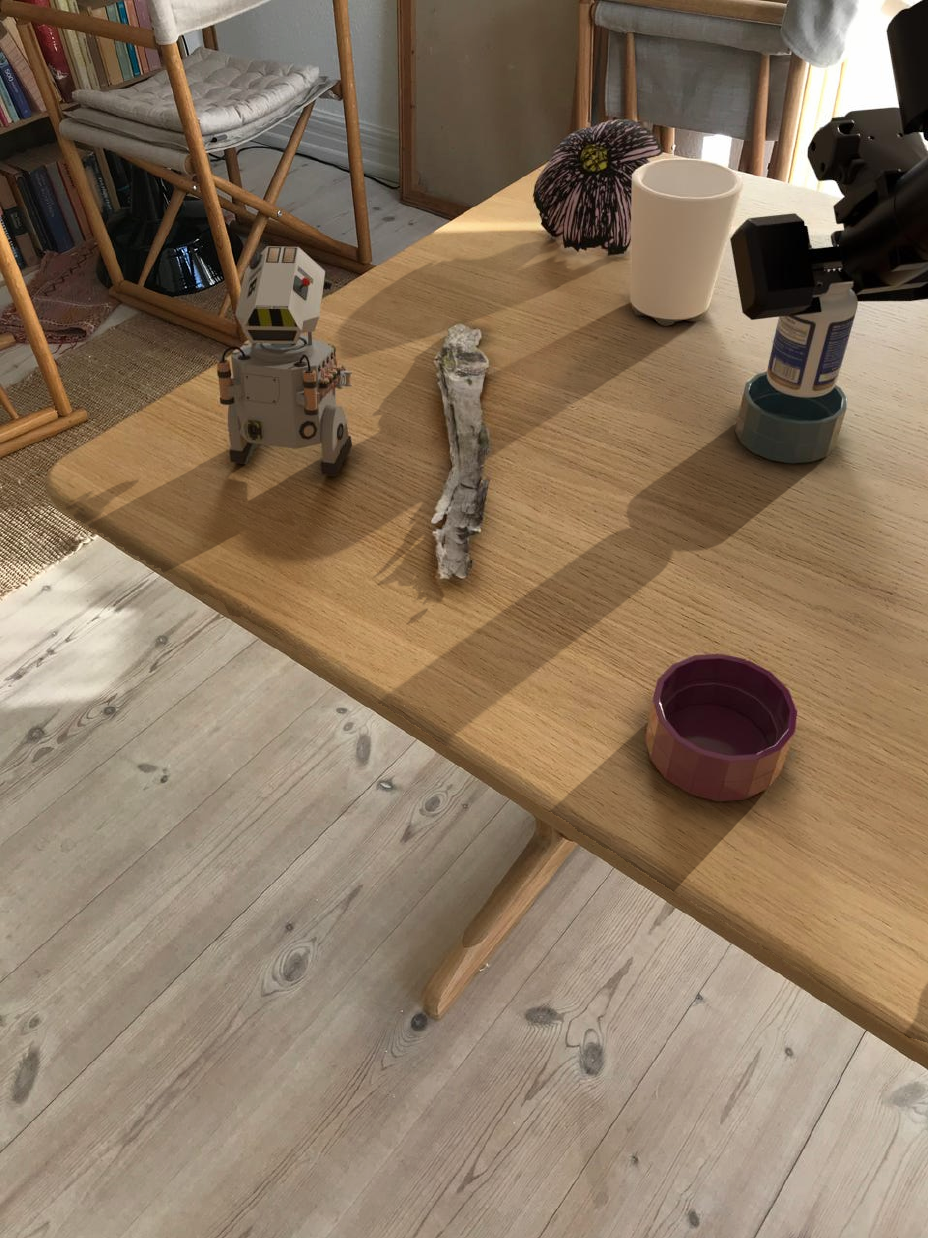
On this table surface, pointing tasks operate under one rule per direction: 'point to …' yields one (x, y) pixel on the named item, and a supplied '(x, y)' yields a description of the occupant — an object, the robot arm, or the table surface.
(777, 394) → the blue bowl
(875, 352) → the table surface
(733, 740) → the plum bowl
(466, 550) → the driftwood
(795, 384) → the pill bottle
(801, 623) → the table surface
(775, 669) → the table surface
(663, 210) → the cup
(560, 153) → the decorative flower
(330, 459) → the figurine
